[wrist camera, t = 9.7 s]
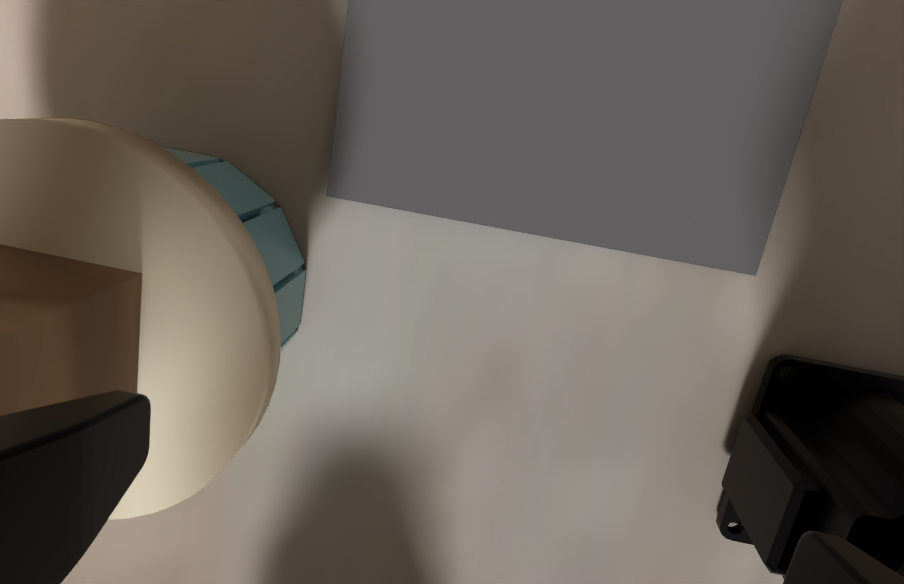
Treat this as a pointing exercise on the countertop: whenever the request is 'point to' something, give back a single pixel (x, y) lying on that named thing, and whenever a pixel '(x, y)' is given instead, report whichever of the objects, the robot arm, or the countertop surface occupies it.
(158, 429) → the wooden lid
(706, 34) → the rubber mat
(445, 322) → the countertop surface
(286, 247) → the ceramic bowl
